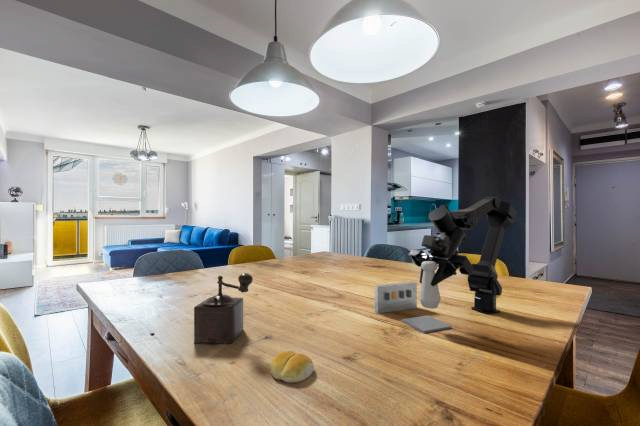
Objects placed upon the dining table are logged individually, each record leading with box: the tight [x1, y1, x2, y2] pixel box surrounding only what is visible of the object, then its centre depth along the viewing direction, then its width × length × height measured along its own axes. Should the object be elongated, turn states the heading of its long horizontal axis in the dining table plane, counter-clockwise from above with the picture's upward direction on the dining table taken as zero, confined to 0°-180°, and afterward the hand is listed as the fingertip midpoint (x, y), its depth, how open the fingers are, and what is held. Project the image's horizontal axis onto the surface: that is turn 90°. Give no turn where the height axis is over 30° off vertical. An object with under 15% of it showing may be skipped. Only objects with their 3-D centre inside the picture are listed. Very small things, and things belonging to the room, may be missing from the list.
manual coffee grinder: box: [193, 272, 254, 345], centre depth 83 cm, size 16×11×18 cm
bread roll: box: [270, 350, 315, 383], centre depth 64 cm, size 8×9×4 cm
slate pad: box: [401, 314, 453, 334], centre depth 91 cm, size 10×10×1 cm
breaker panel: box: [374, 281, 418, 315], centre depth 104 cm, size 16×3×9 cm, turn 111°
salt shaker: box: [418, 261, 442, 309], centre depth 87 cm, size 6×6×13 cm
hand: (426, 284), depth 87 cm, fingers closed on salt shaker, 3 cm apart
